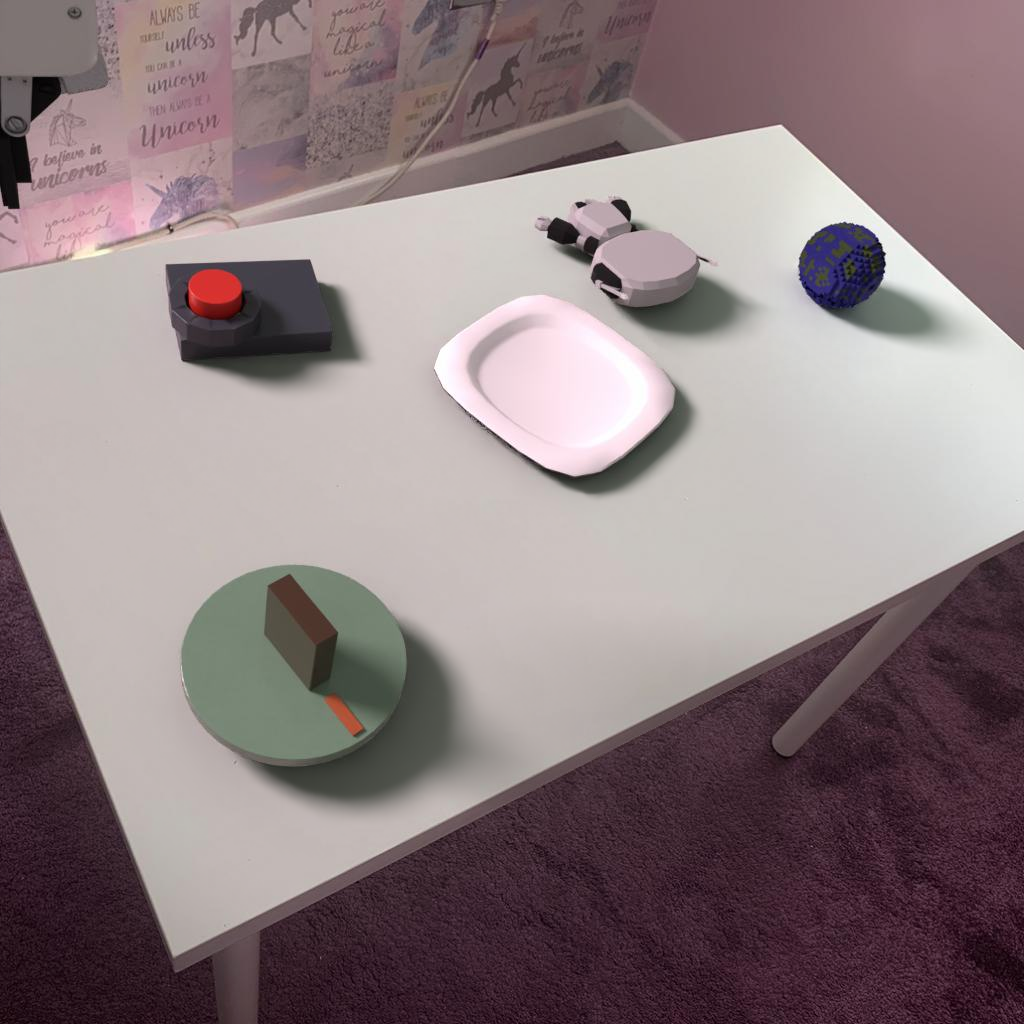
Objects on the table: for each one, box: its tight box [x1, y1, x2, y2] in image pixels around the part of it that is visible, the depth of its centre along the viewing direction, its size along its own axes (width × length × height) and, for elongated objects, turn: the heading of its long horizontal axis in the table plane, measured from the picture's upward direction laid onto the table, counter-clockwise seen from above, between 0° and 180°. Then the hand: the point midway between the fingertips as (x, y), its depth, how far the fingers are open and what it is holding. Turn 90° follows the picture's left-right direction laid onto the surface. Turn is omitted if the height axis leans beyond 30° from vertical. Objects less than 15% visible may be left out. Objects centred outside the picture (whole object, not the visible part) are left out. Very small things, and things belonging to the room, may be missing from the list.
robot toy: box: [533, 195, 719, 308], centre depth 102 cm, size 12×4×15 cm
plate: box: [433, 294, 676, 478], centre depth 90 cm, size 18×18×2 cm
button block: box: [164, 258, 334, 361], centre depth 86 cm, size 12×10×4 cm
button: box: [189, 269, 242, 320], centre depth 83 cm, size 4×4×2 cm
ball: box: [797, 221, 887, 310], centre depth 106 cm, size 8×8×8 cm
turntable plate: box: [180, 564, 408, 767], centre depth 65 cm, size 14×14×7 cm
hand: (0, 191), depth 52 cm, fingers closed
